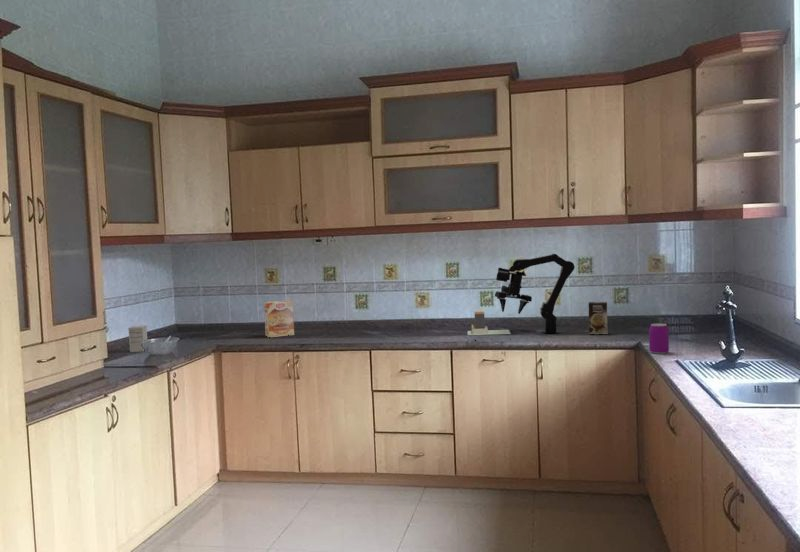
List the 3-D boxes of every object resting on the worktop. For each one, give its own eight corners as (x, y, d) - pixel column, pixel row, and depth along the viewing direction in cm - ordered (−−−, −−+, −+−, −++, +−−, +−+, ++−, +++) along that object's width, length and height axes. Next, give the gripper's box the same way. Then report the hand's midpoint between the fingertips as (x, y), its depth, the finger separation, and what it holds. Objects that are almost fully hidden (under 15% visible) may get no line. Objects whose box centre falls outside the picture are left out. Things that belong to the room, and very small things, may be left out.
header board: (508, 332, 368) (508, 322, 368) (510, 336, 354) (510, 326, 354) (467, 333, 370) (467, 323, 370) (467, 337, 356) (467, 327, 356)
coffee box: (588, 335, 347) (588, 303, 346) (589, 333, 353) (588, 301, 352) (607, 335, 345) (606, 302, 344) (607, 333, 351) (607, 301, 350)
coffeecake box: (269, 337, 384) (267, 302, 382) (265, 336, 390) (263, 302, 389) (294, 335, 391) (293, 300, 390) (290, 333, 397) (288, 299, 396)
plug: (484, 331, 364) (484, 311, 364) (485, 333, 360) (484, 312, 359) (475, 332, 365) (474, 311, 364) (475, 333, 360) (474, 312, 360)
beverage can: (645, 351, 296) (645, 324, 295) (661, 350, 298) (661, 322, 297) (656, 354, 288) (655, 326, 288) (672, 353, 290) (672, 324, 289)
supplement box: (134, 349, 361) (132, 325, 360) (148, 349, 362) (146, 325, 361) (129, 352, 354) (127, 327, 353) (144, 351, 354) (142, 326, 353)
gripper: (525, 283, 370) (520, 312, 371) (493, 279, 365) (488, 308, 366) (534, 286, 359) (529, 315, 360) (501, 282, 354) (496, 311, 356)
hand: (510, 312), depth 361 cm, fingers open, 9 cm apart
